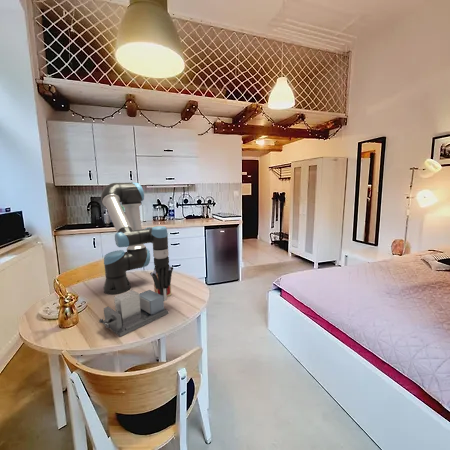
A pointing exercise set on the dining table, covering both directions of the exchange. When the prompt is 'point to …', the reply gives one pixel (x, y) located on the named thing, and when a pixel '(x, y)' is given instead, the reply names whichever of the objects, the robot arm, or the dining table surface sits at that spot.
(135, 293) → the steel block
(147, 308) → the block
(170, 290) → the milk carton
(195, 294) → the dining table surface
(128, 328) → the vise body
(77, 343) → the dining table surface
